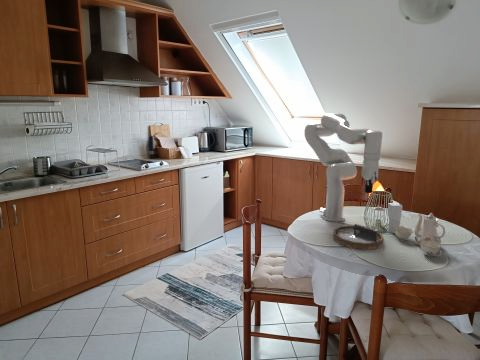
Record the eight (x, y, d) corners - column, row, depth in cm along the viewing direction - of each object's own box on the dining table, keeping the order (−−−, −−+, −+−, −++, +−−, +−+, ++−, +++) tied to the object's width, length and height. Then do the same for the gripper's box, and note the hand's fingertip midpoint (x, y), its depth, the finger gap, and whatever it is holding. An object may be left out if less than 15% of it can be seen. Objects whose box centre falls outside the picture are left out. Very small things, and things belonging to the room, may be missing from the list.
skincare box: (380, 227, 190) (383, 200, 187) (391, 226, 191) (394, 200, 188) (388, 232, 182) (391, 205, 179) (399, 232, 183) (403, 204, 179)
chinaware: (386, 240, 178) (387, 208, 173) (413, 233, 182) (414, 202, 178) (432, 265, 152) (434, 228, 147) (462, 256, 157) (465, 220, 152)
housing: (324, 239, 172) (324, 233, 172) (346, 227, 189) (347, 221, 188) (370, 254, 157) (371, 247, 156) (391, 240, 173) (391, 233, 172)
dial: (328, 236, 174) (329, 223, 172) (351, 227, 186) (352, 215, 185) (364, 249, 159) (366, 235, 158) (387, 238, 171) (388, 225, 170)
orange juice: (380, 213, 213) (383, 180, 208) (384, 218, 204) (388, 184, 199) (366, 212, 213) (369, 180, 209) (370, 217, 205) (373, 184, 200)
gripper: (358, 153, 181) (355, 188, 185) (370, 158, 166) (366, 196, 171) (373, 153, 181) (370, 188, 185) (386, 158, 167) (381, 196, 171)
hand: (368, 192), depth 178 cm, fingers closed
